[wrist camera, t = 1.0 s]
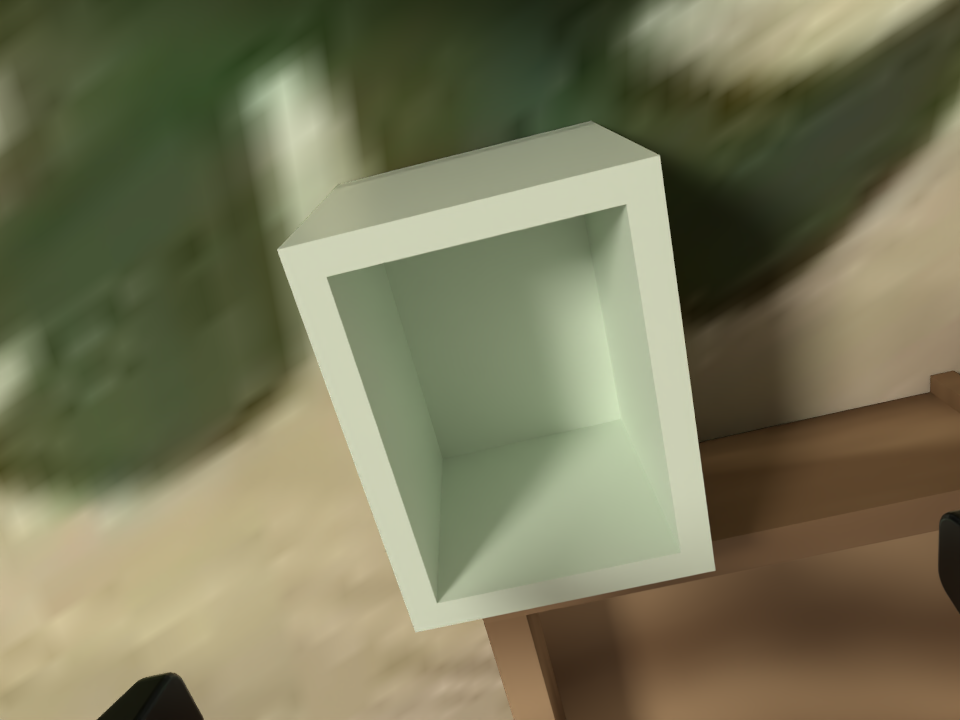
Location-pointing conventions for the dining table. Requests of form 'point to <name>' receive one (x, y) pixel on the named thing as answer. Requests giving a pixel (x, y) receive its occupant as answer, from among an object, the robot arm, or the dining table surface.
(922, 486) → the crate
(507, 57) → the dining table surface
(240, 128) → the dining table surface
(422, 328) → the small crate
